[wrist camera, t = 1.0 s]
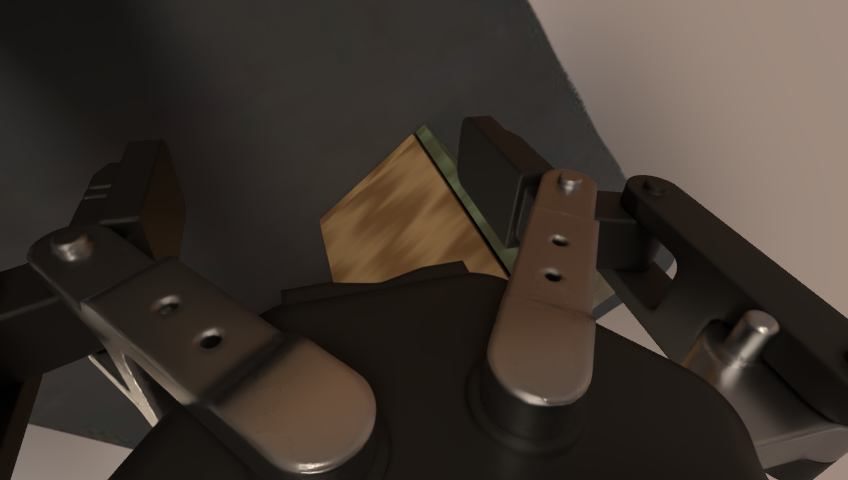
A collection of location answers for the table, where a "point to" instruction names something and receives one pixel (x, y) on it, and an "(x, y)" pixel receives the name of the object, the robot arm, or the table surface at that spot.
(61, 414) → the table surface
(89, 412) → the table surface
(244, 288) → the table surface
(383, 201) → the cupboard
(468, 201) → the door
